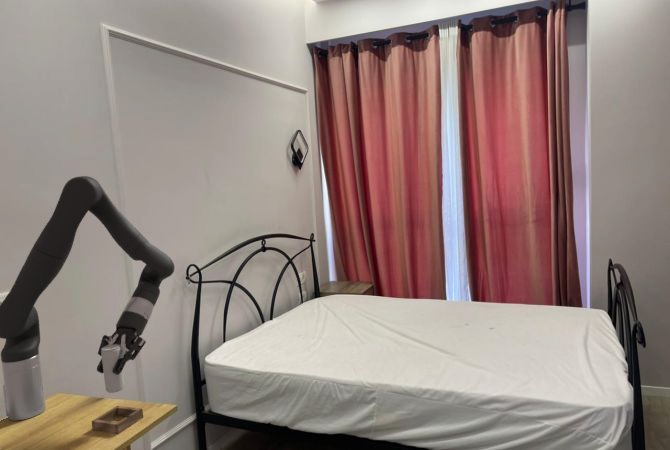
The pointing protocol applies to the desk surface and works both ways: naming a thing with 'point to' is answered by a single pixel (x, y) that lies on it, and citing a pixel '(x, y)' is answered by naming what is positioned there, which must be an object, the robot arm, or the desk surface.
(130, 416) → the collar
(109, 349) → the beverage can
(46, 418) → the desk surface
